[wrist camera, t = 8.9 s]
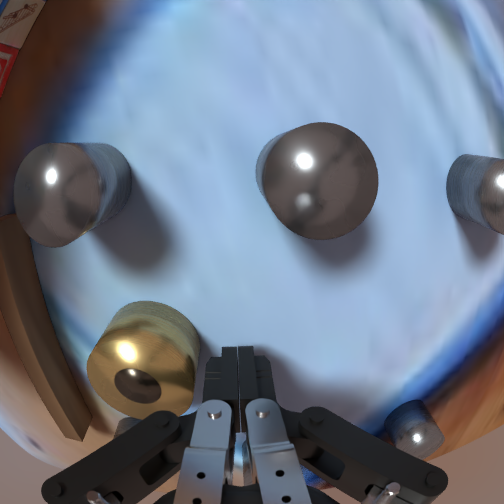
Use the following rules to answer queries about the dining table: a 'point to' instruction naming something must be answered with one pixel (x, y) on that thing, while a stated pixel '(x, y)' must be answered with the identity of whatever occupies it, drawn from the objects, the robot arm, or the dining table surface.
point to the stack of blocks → (14, 31)
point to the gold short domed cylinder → (146, 360)
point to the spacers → (279, 199)
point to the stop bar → (37, 331)
